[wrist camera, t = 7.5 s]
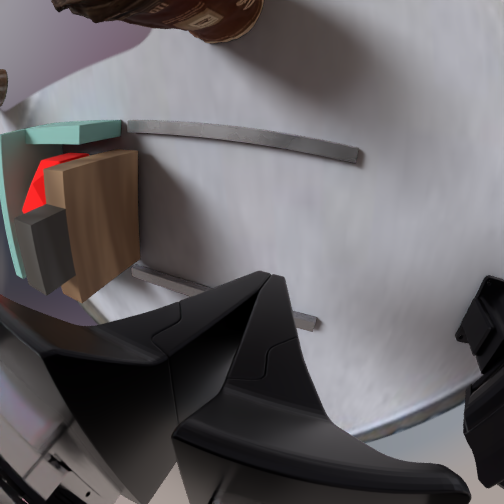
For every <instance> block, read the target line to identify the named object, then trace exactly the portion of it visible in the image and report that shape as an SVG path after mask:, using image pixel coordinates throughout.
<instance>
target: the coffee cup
mask: <svg viewBox="0 0 504 504" xmlns="http://www.w3.org/2000/svg"><path fill="white" fill-rule="evenodd" d="M51 2H52V3H53V5H54V7H55V9H56V10H57V11H58V12H61V11H62V10H64V9H67V8H69V9H70V11H71V12H72V13H73V14H76V15H80V16H84V17H86V18H89V19H91V20H92V21H93V22H94V23H99V22H104V21H114V20H120V21H124V22H127V23H130V24H136V25H140V26H144V27H150V28H160V29H171V28H175V29H181V30H184V31H189V32H190V33H191V34H192V35H193V36H194V37H196V38H200V39H202V40H203V41H204V42H206V43H210V44H211V43H218V42H229V41H230V40H232V39H238V38H240V37H241V36H242V35H244V34H246V33H247V32H248V31H249V30H251V29H252V27H253V26H254V24H255V22H256V21H257V19H258V17H259V15H260V13H261V10H262V8H263V2H264V0H52V1H51Z"/></svg>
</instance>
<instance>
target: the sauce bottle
mask: <svg viewBox="0 0 504 504" xmlns="http://www.w3.org/2000/svg"><path fill="white" fill-rule="evenodd" d="M7 87H8V77H7V72H6V70H4V69H0V106H2V104H3V102H4V99H5V97H6V93H7Z"/></svg>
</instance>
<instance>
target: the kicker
mask: <svg viewBox="0 0 504 504" xmlns="http://www.w3.org/2000/svg"><path fill="white" fill-rule="evenodd" d="M43 173H44V185H45V196H46V204H45V205H43V206H40V207H38V208H36V209H33V210H31V211H29V212H27V213H25V214H22V215H20V216H18V217H16V218H14V224H15V229H16V234H17V239H18V244H19V249H20V253H21V257H22V261H23V265H24V269H25V273H26V276H27V280H28V283H29V285H30V286H32V287H33V288H35V289H37V290H38V291H40V292H41V293H43V294H45V295H46V296H47V295H48V294H50V293H51V292H53V291H54V290H55V289H57V288H58V287H60V286H61V287H62V290H63V293H64V294H66V295H68V296H69V297H71V298H73V299H75V300H77V301H79V302H81V303H83V302H84V301H86V300H87V299H88V298H89V297H91V296H92V295H93V294H95V293H96V292H97V291H98V290H100V289H101V288H102V287H104V286H105V285H106V284H107V283H109V282H110V281H111V280H113V279H114V278H115V277H117V276H118V275H119V274H121V273H122V272H123V271H125V270H126V269H127V268H129V267H130V266H131V265H133V264H134V263H135V262H137V261H138V260H139V259H140V244H139V223H138V151H135V150H123V149H115V150H111V151H107V152H103V153H98V154H94V155H91V156H87V157H83V158H79V159H75V160H72V161H68V162H65V163H61V164H58V165H55V166H51V167H48V168H45V169H43Z"/></svg>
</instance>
